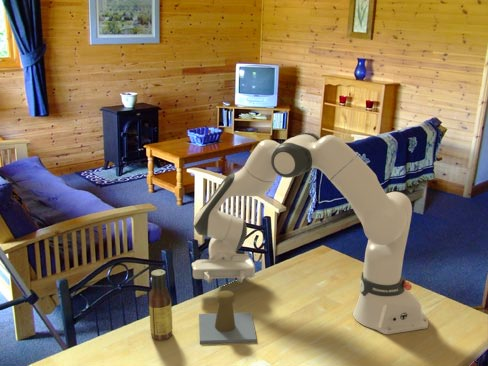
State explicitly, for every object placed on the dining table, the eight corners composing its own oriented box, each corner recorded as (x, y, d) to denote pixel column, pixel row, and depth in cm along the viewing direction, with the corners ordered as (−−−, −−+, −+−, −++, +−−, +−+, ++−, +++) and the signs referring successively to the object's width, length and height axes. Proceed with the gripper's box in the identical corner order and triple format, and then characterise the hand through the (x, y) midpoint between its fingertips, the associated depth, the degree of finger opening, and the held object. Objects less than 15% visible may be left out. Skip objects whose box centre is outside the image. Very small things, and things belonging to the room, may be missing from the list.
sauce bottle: (176, 333, 154) (176, 271, 148) (162, 343, 149) (161, 280, 143) (159, 326, 157) (158, 265, 151) (145, 336, 152) (143, 273, 146)
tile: (250, 315, 164) (251, 312, 164) (256, 342, 151) (256, 339, 151) (198, 316, 163) (199, 313, 163) (199, 343, 150) (199, 340, 149)
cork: (233, 332, 153) (234, 299, 150) (213, 330, 154) (213, 297, 151) (236, 321, 159) (237, 288, 156) (216, 319, 160) (217, 286, 156)
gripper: (191, 253, 178) (191, 272, 165) (252, 251, 180) (257, 270, 167) (191, 270, 180) (191, 290, 167) (251, 268, 182) (256, 288, 169)
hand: (225, 280), depth 167 cm, fingers open, 8 cm apart
